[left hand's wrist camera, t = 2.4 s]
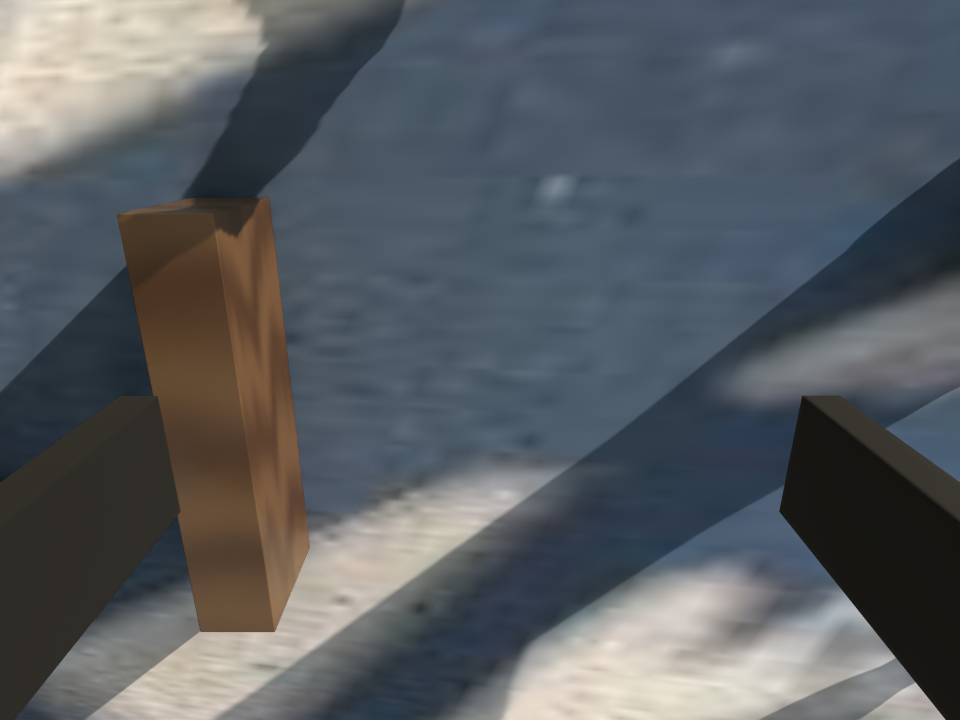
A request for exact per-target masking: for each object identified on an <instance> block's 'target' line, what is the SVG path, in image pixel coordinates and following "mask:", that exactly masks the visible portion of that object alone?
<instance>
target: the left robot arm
mask: <svg viewBox="0 0 960 720" xmlns="http://www.w3.org/2000/svg"><path fill="white" fill-rule="evenodd" d="M180 512H181V511H180V506H179V501H178V496H177V491H176V486H175V480H174V475H173V470H172V465H171V460H170V455H169V450H168V445H167V440H166V435H165V430H164V425H163V420H162V415H161V410H160V405H159V400H158V396H119V397H118V398H117V399H115V400H114V401H113V402H111V403H110V404H108V405H107V406H106V407H104V408H103V409H101V410H100V411H99V412H97V413H96V414H94V415H93V416H92V417H90V418H89V419H87V420H86V421H85V422H83V423H82V424H81V425H79V426H78V427H76V428H75V429H74V430H72V431H71V432H69V433H68V434H67V435H65V436H64V437H62V438H61V439H60V440H58V441H57V442H56V443H54V444H53V445H51V446H50V447H49V448H47V449H46V450H44V451H43V452H42V453H40V454H39V455H37V456H36V457H35V458H33V459H32V460H31V461H29V462H28V463H26V464H25V465H24V466H22V467H21V468H19V469H18V470H17V471H15V472H14V473H12V474H11V475H10V476H8V477H7V478H6V479H4V480H3V481H1V482H0V720H14V719H15V718H16V717H17V716H18V714H19V713H20V712H21V711H22V709H23V708H24V707H25V706H26V704H27V703H28V702H29V701H30V699H31V698H32V697H33V696H34V694H35V693H36V692H37V691H38V689H39V688H40V687H41V686H42V684H43V683H44V682H45V681H46V679H47V678H48V677H49V676H50V674H51V673H52V672H53V671H54V669H55V668H56V667H57V666H58V664H59V663H60V662H61V661H62V659H63V658H64V657H65V656H66V654H67V653H68V652H69V651H70V649H71V648H72V647H73V646H74V644H75V643H76V642H77V641H78V639H79V638H80V637H81V636H82V634H83V633H84V632H85V631H86V629H87V628H88V627H89V626H90V624H91V623H92V622H93V621H94V619H95V618H96V617H97V616H98V614H99V613H100V612H101V611H102V609H103V608H104V607H105V606H106V604H107V603H108V602H109V601H110V599H111V598H112V597H113V596H114V594H115V593H116V592H117V591H118V589H119V588H120V587H121V586H122V584H123V583H124V582H125V581H126V579H127V578H128V577H129V576H130V574H131V573H132V572H133V571H134V569H135V568H136V567H137V566H138V564H139V563H140V562H141V561H142V559H143V558H144V557H145V556H146V554H147V553H148V552H149V551H150V549H151V548H152V547H153V545H154V544H155V543H156V542H157V540H158V539H159V538H160V537H161V535H162V534H163V533H164V532H165V530H166V529H167V528H168V527H169V525H170V524H171V523H172V522H173V520H174V519H175V518H176V517H177V515H178V514H179V513H180ZM779 512H780V513H781V514H782V515H783V517H784V518H785V519H786V520H787V522H788V523H789V524H790V525H791V527H792V528H793V529H794V530H795V532H796V533H797V534H798V535H799V537H800V538H801V539H802V540H803V542H804V543H805V544H806V545H807V547H808V548H809V549H810V551H811V552H812V553H813V554H814V556H815V557H816V558H817V559H818V561H819V562H820V563H821V564H822V566H823V567H824V568H825V569H826V571H827V572H828V573H829V574H830V576H831V577H832V578H833V579H834V581H835V582H836V583H837V584H838V586H839V587H840V588H841V589H842V591H843V592H844V593H845V594H846V596H847V597H848V598H849V599H850V601H851V602H852V603H853V604H854V606H855V607H856V608H857V609H858V611H859V612H860V613H861V614H862V616H863V617H864V618H865V619H866V621H867V622H868V623H869V624H870V626H871V627H872V628H873V629H874V631H875V632H876V633H877V634H878V636H879V637H880V638H881V639H882V641H883V642H884V643H885V644H886V646H887V647H888V648H889V649H890V651H891V652H892V653H893V654H894V656H895V657H896V658H897V659H898V661H899V662H900V663H901V664H902V666H903V667H904V668H905V669H906V671H907V672H908V673H909V674H910V676H911V677H912V678H913V679H914V681H915V682H916V683H917V684H918V686H919V687H920V688H921V689H922V691H923V692H924V693H925V694H926V696H927V697H928V698H929V699H930V701H931V702H932V703H933V704H934V706H935V707H936V708H937V709H938V711H939V712H940V713H941V714H942V716H943V717H944V718H945V719H946V720H960V482H959V481H957V480H956V479H954V478H953V477H952V476H950V475H949V474H948V473H946V472H945V471H943V470H942V469H941V468H939V467H938V466H936V465H935V464H934V463H932V462H931V461H929V460H928V459H927V458H925V457H924V456H923V455H921V454H920V453H918V452H917V451H916V450H914V449H913V448H911V447H910V446H909V445H907V444H906V443H904V442H903V441H902V440H900V439H899V438H898V437H896V436H895V435H893V434H892V433H891V432H889V431H888V430H886V429H885V428H884V427H882V426H881V425H879V424H878V423H877V422H875V421H874V420H873V419H871V418H870V417H868V416H867V415H866V414H864V413H863V412H861V411H860V410H859V409H857V408H856V407H854V406H853V405H852V404H850V403H849V402H847V401H846V400H845V399H843V398H842V397H841V396H802V400H801V405H800V410H799V415H798V420H797V425H796V430H795V435H794V440H793V445H792V450H791V455H790V460H789V465H788V470H787V475H786V480H785V485H784V491H783V496H782V501H781V506H780V511H779Z"/></svg>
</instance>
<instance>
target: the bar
mask: <svg viewBox="0 0 960 720" xmlns="http://www.w3.org/2000/svg"><path fill="white" fill-rule="evenodd" d="M117 218H118V223H119V228H120V233H121V238H122V243H123V248H124V253H125V258H126V263H127V268H128V273H129V278H130V283H131V288H132V293H133V298H134V303H135V308H136V313H137V318H138V323H139V328H140V333H141V338H142V343H143V348H144V353H145V358H146V363H147V367H148V372H149V377H150V382H151V387H152V392H153V396H158V400H159V405H160V410H161V415H162V420H163V425H164V430H165V435H166V440H167V445H168V450H169V455H170V460H171V465H172V470H173V475H174V480H175V486H176V491H177V496H178V501H179V506H180V511H181V512H180V513H179V514H178V515H177V517H178V522H179V527H180V532H181V537H182V542H183V547H184V552H185V557H186V562H187V567H188V572H189V577H190V582H191V586H192V591H193V596H194V601H195V606H196V611H197V616H198V621H199V626H200V631H201V632H275V630H276V628H277V625H278V623H279V621H280V618H281V616H282V613H283V611H284V608H285V606H286V604H287V601H288V599H289V596H290V594H291V592H292V589H293V587H294V584H295V582H296V580H297V577H298V575H299V572H300V570H301V567H302V565H303V563H304V560H305V558H306V555H307V553H308V551H309V548H310V546H309V538H308V529H307V520H306V512H305V503H304V494H303V486H302V477H301V468H300V460H299V451H298V443H297V434H296V425H295V417H294V408H293V399H292V391H291V382H290V373H289V365H288V356H287V347H286V339H285V330H284V321H283V313H282V304H281V295H280V287H279V278H278V269H277V261H276V252H275V243H274V235H273V226H272V217H271V209H270V200H269V198H189V199H184V200H179V201H175V202H170V203H165V204H160V205H156V206H151V207H146V208H142V209H137V210H132V211H127V212H123V213H118V214H117Z"/></svg>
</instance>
